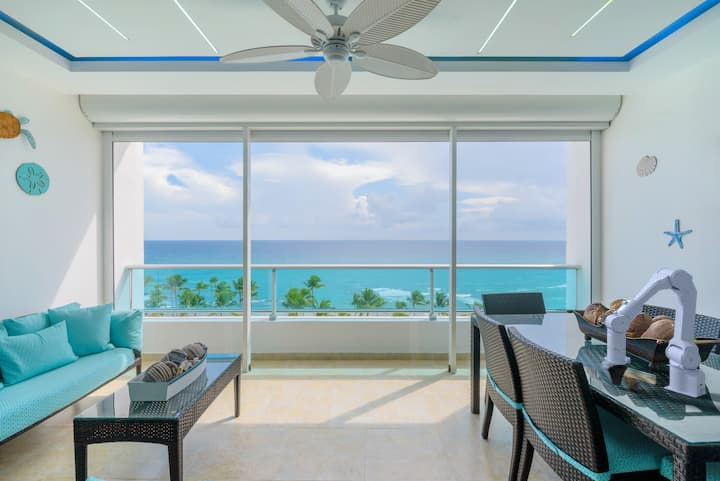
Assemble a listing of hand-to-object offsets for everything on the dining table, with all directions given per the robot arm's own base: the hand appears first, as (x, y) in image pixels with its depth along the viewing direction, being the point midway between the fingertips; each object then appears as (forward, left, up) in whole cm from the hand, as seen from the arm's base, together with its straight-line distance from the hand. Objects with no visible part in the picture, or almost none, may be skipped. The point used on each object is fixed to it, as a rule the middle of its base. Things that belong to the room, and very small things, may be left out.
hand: (616, 384), depth 145 cm
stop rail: (+1, -16, -1) cm, 16 cm away
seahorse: (-2, -8, -2) cm, 8 cm away
